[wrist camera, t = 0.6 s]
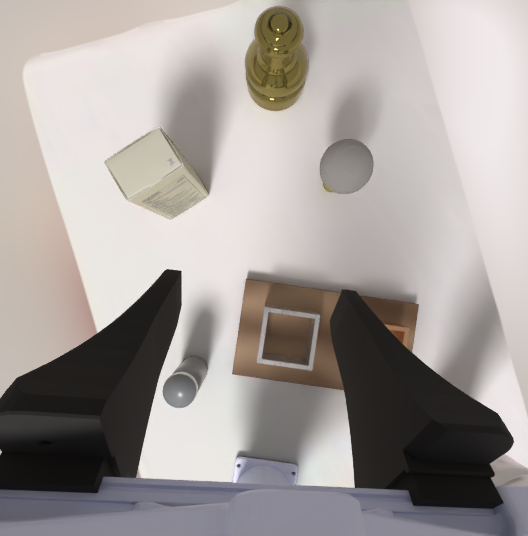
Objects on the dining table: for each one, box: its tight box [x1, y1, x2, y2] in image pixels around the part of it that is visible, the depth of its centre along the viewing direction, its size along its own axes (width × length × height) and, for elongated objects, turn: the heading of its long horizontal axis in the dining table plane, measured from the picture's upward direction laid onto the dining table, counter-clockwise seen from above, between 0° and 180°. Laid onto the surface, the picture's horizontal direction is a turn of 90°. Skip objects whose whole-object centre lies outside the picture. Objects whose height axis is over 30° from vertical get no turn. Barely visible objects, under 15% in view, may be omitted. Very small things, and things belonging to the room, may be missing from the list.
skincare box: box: [104, 127, 209, 219], centre depth 34 cm, size 6×4×12 cm
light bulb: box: [320, 139, 373, 194], centre depth 35 cm, size 5×5×10 cm
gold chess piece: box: [245, 6, 308, 111], centre depth 35 cm, size 7×7×10 cm
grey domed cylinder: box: [163, 356, 207, 408], centre depth 36 cm, size 4×4×7 cm
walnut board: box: [232, 279, 419, 390], centre depth 39 cm, size 12×22×1 cm, turn 82°
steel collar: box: [257, 304, 320, 371], centre depth 37 cm, size 6×6×3 cm
